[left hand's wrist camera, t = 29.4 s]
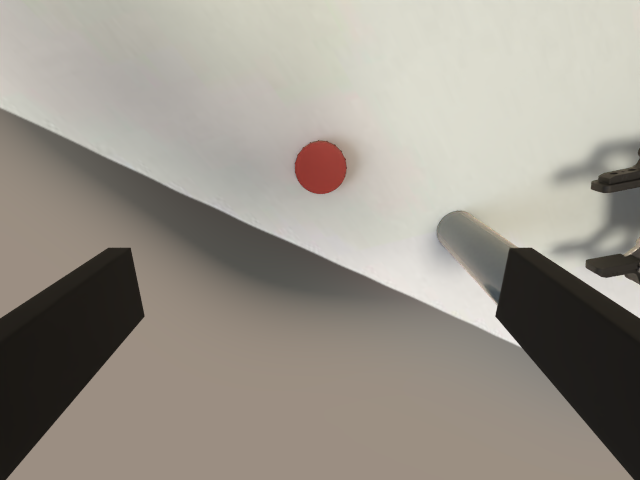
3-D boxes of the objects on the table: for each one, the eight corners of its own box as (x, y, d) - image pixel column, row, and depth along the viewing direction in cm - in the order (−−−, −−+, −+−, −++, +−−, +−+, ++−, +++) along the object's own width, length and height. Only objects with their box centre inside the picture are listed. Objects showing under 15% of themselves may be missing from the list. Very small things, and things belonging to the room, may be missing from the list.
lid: (356, 162, 39) (357, 164, 37) (324, 201, 41) (325, 204, 39) (316, 129, 38) (316, 130, 36) (285, 170, 39) (284, 173, 38)
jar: (432, 219, 41) (506, 292, 25) (471, 204, 41) (574, 269, 24) (442, 253, 43) (518, 343, 26) (480, 240, 42) (583, 324, 26)
